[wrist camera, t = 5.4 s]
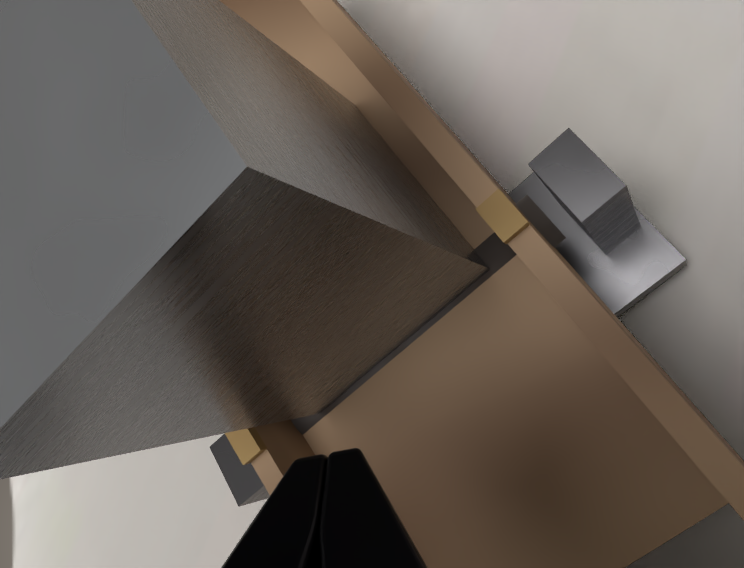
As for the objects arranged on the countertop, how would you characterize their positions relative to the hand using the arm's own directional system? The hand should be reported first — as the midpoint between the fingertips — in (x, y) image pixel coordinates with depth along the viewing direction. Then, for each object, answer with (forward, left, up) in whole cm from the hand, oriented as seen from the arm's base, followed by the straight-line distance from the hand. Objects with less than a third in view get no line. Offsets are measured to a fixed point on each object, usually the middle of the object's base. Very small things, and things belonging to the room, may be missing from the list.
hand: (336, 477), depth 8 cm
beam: (+4, -3, -6) cm, 8 cm away
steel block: (+4, -3, -5) cm, 7 cm away
